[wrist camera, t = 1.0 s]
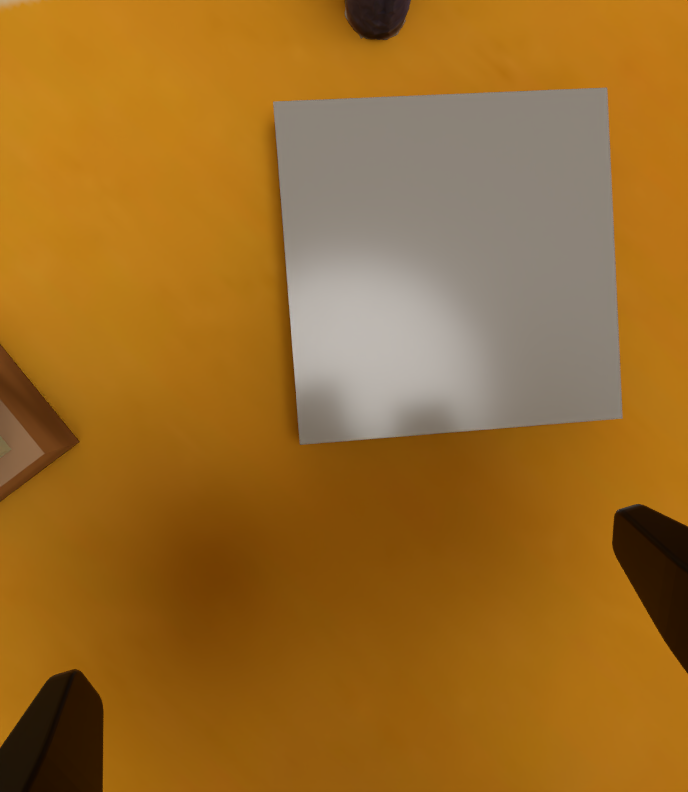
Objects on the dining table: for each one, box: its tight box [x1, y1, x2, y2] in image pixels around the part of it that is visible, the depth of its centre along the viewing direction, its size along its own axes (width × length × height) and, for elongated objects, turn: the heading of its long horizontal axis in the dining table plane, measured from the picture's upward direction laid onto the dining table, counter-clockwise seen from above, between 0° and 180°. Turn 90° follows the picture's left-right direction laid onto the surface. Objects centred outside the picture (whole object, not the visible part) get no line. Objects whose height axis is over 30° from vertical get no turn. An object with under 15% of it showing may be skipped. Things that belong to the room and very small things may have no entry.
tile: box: [273, 88, 622, 445], centre depth 22 cm, size 12×12×2 cm
